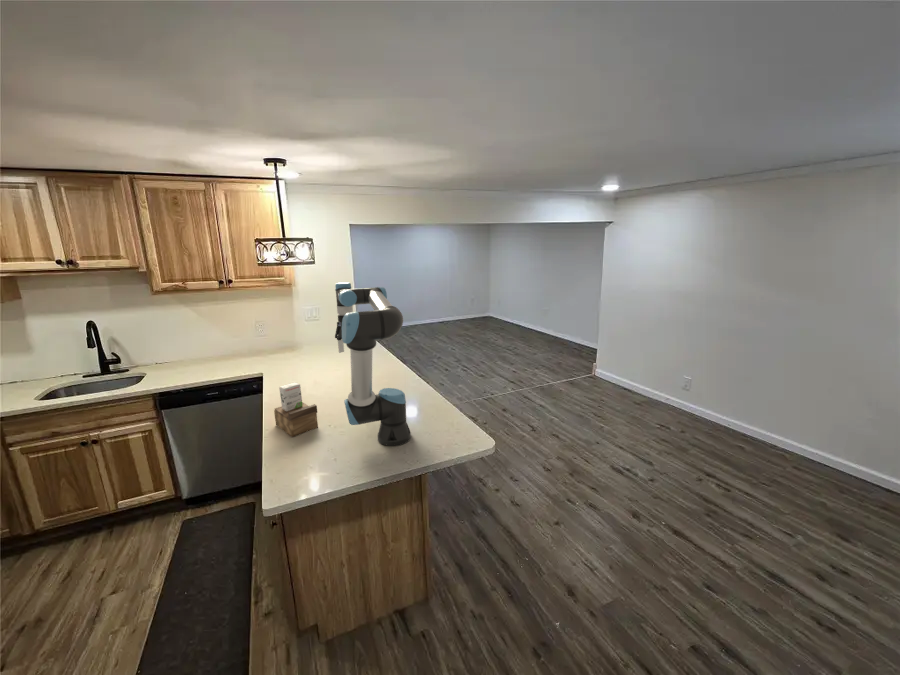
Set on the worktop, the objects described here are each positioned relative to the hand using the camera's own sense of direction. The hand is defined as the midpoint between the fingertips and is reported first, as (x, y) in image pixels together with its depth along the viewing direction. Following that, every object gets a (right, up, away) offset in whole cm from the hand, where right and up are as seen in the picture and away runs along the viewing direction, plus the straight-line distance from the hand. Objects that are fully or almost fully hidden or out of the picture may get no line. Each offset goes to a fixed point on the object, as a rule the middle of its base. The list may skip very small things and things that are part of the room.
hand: (348, 354), depth 204 cm
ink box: (-26, -26, -7) cm, 37 cm away
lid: (-23, -27, -10) cm, 37 cm away
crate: (-24, -35, -7) cm, 43 cm away
